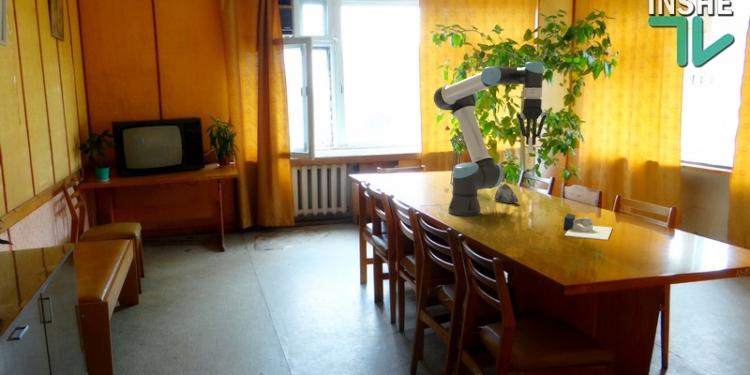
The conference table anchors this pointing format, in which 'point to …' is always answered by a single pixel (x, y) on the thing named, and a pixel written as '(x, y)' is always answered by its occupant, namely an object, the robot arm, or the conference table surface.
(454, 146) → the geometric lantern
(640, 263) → the conference table surface
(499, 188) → the mineral rock
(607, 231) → the felt mat
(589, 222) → the watch
